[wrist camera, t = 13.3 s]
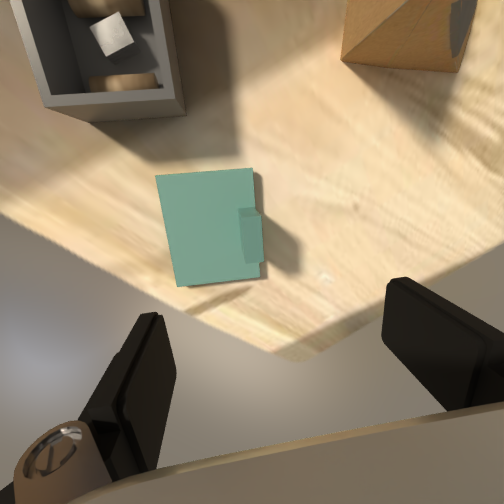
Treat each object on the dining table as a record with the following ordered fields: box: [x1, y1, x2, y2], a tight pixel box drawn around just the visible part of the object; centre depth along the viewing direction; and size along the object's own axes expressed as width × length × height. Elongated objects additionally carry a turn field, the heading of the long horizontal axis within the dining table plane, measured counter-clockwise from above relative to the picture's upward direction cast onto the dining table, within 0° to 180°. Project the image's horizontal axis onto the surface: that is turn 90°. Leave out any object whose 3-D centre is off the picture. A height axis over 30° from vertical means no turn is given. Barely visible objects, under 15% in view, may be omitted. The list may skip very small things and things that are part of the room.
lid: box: [155, 168, 264, 287], centre depth 28 cm, size 11×14×8 cm
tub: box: [10, 0, 186, 123], centre depth 21 cm, size 11×14×7 cm
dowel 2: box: [89, 73, 160, 93], centre depth 24 cm, size 6×2×2 cm
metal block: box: [90, 12, 141, 65], centre depth 23 cm, size 3×2×2 cm
